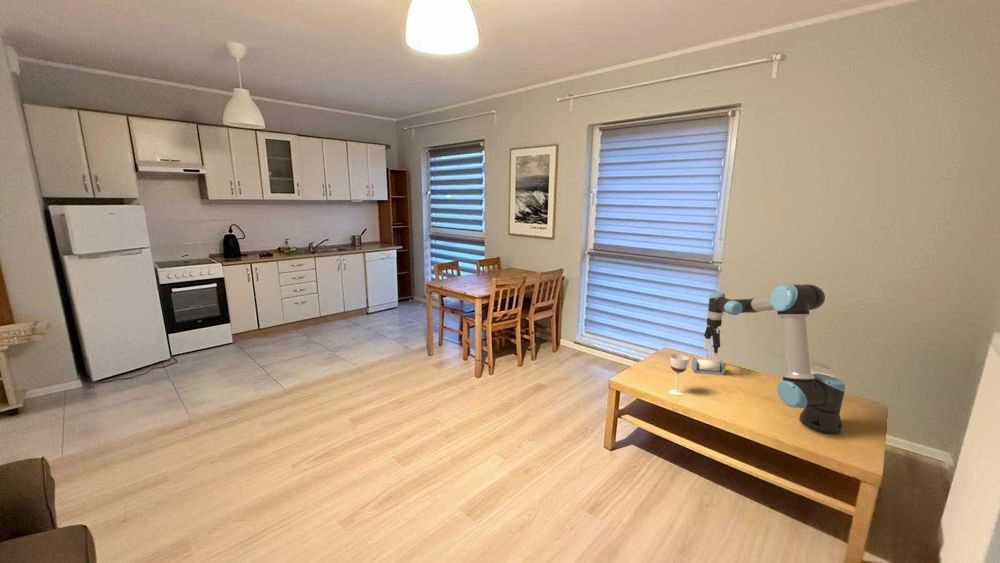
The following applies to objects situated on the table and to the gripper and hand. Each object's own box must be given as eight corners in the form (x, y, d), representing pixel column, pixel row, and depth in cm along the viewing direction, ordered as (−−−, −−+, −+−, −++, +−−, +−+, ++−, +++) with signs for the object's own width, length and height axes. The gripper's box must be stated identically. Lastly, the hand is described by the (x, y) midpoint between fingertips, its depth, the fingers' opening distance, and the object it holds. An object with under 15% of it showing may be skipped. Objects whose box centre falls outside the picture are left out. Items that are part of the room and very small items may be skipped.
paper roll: (716, 370, 235) (716, 360, 236) (720, 371, 230) (720, 361, 230) (696, 369, 237) (696, 358, 238) (699, 369, 232) (699, 359, 232)
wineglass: (687, 396, 204) (691, 360, 200) (670, 396, 205) (674, 359, 200) (680, 389, 212) (684, 354, 208) (664, 388, 212) (668, 353, 208)
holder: (723, 375, 230) (725, 364, 229) (694, 372, 233) (695, 361, 232) (720, 370, 236) (721, 359, 235) (691, 368, 239) (692, 357, 238)
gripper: (729, 325, 215) (724, 361, 219) (714, 313, 239) (710, 346, 243) (714, 324, 216) (710, 360, 220) (701, 312, 241) (697, 345, 245)
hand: (710, 353), depth 232 cm, fingers open, 13 cm apart
